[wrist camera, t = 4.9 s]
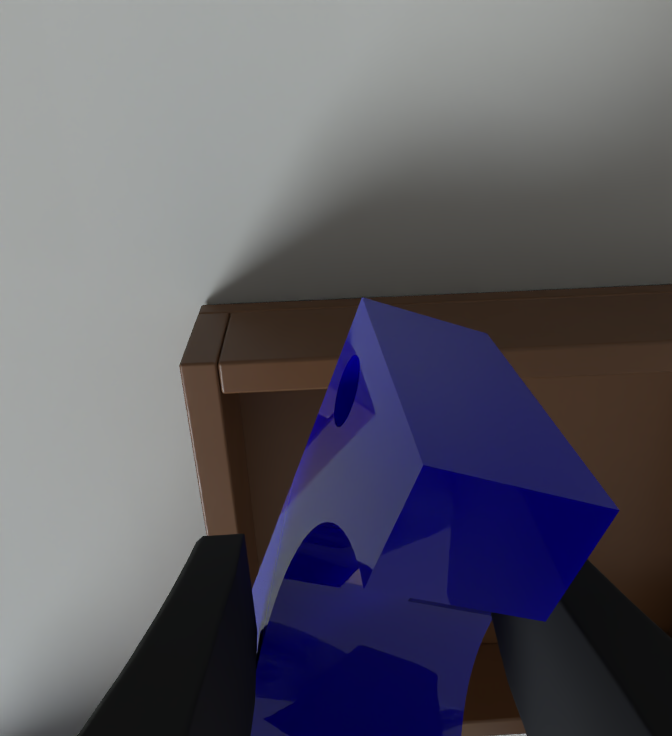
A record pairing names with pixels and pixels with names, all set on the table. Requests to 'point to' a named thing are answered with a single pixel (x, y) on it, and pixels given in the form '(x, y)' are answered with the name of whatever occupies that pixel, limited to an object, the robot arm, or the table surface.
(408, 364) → the cable holder
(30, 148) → the table surface
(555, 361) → the tray
